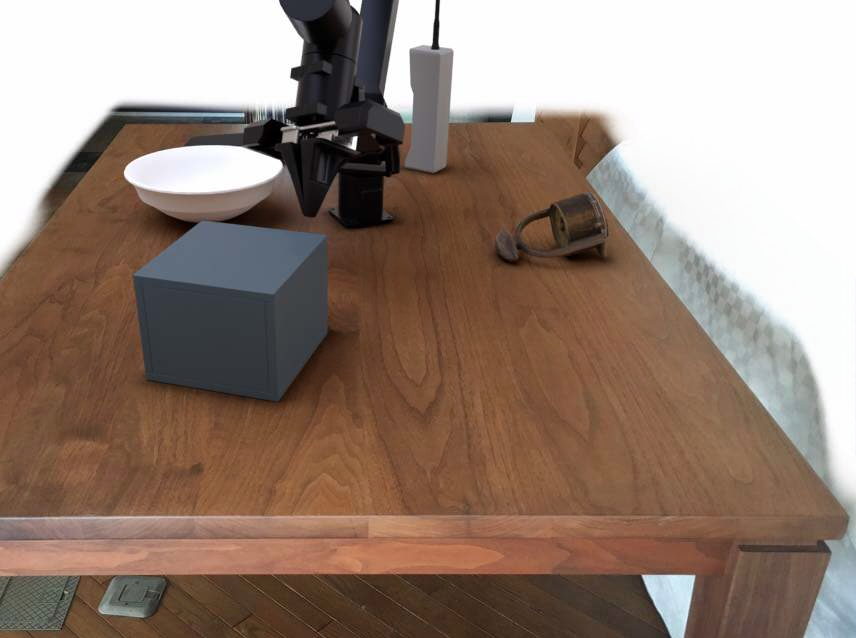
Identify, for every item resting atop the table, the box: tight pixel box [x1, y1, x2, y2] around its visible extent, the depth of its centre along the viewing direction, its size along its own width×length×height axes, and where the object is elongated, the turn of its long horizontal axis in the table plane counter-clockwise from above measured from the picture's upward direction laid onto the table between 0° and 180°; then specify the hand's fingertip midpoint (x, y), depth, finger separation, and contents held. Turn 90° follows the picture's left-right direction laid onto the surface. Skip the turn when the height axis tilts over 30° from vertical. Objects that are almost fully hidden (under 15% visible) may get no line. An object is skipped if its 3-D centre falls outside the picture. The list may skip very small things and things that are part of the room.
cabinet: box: [132, 221, 329, 403], centre depth 81 cm, size 14×13×10 cm
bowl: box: [123, 145, 284, 224], centre depth 115 cm, size 20×20×6 cm
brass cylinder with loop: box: [494, 191, 609, 262], centre depth 103 cm, size 7×13×10 cm
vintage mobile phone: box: [404, 0, 455, 175], centre depth 127 cm, size 4×5×25 cm
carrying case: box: [183, 132, 282, 162], centre depth 136 cm, size 11×3×15 cm
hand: (309, 217), depth 92 cm, fingers closed
